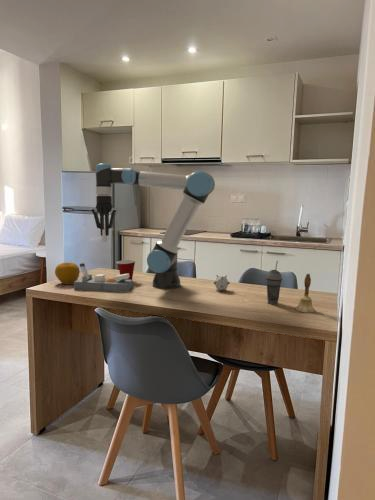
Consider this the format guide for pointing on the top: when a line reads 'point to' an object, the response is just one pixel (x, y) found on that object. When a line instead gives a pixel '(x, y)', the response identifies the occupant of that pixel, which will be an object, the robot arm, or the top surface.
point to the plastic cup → (126, 267)
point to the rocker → (122, 276)
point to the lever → (84, 271)
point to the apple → (67, 273)
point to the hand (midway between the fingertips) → (104, 241)
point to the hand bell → (306, 298)
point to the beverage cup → (273, 286)
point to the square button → (100, 278)
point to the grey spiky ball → (221, 283)
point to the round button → (111, 279)
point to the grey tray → (103, 285)
